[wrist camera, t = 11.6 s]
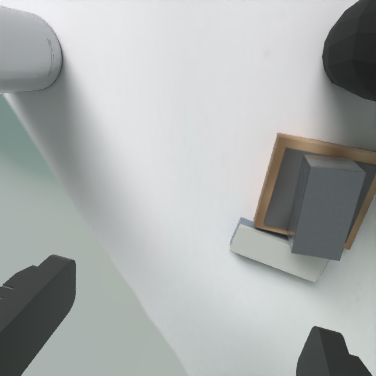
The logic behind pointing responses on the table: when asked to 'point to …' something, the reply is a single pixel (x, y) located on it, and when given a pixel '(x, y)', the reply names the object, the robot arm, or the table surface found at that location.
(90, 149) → the table surface
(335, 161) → the block
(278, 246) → the eraser
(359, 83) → the portable speaker
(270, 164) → the stand
